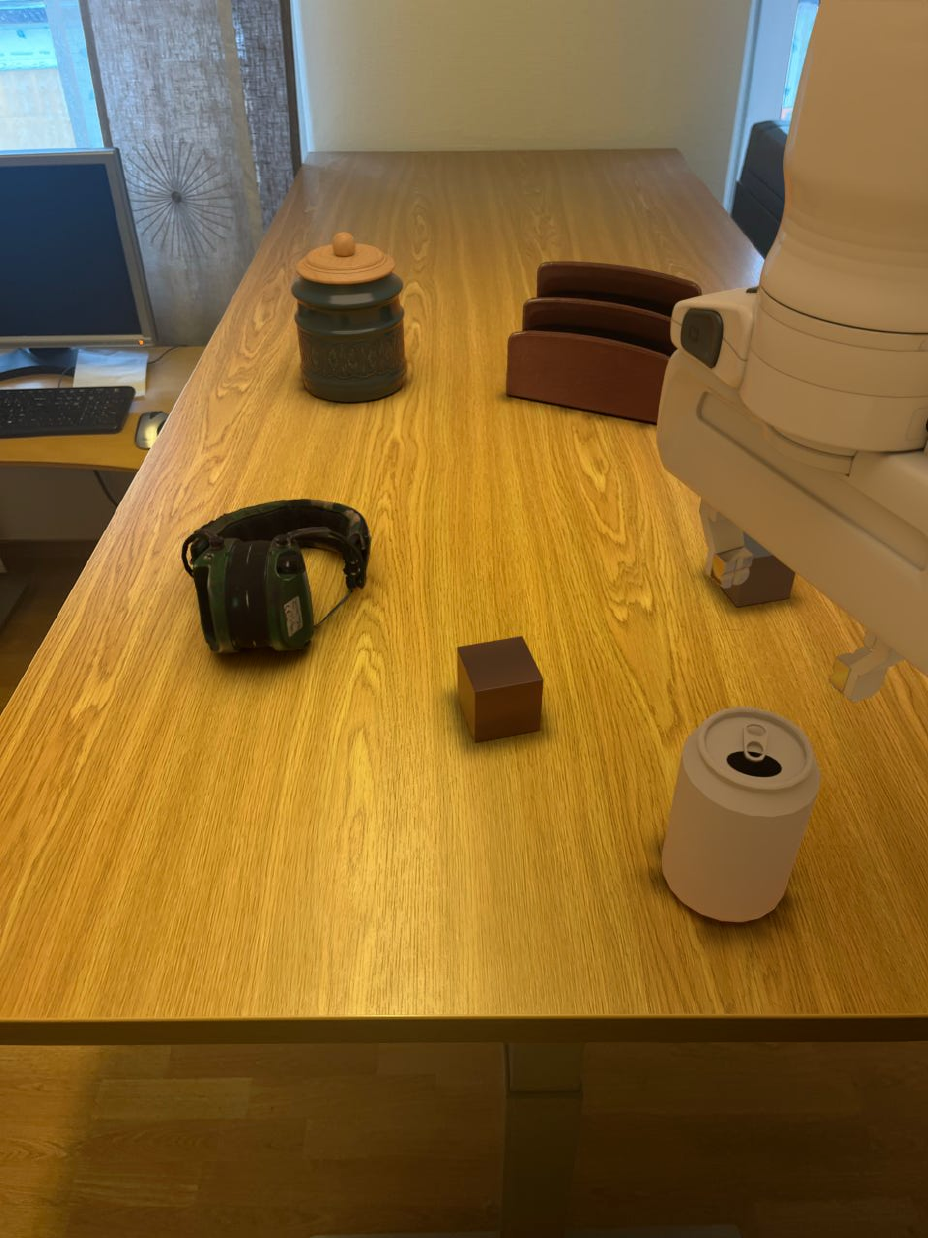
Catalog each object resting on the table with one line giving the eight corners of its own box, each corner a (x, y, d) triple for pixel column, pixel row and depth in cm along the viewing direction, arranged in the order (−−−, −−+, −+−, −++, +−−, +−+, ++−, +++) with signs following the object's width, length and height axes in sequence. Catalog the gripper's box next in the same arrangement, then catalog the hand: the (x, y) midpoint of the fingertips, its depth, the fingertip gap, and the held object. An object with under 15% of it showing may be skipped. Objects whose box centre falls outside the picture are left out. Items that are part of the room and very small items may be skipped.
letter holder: (535, 365, 120) (540, 251, 111) (689, 393, 113) (707, 274, 105) (504, 396, 113) (507, 277, 104) (666, 427, 106) (684, 303, 97)
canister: (330, 354, 123) (316, 212, 112) (423, 367, 119) (418, 222, 108) (283, 395, 113) (263, 244, 102) (382, 411, 110) (372, 256, 99)
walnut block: (540, 730, 69) (544, 679, 66) (474, 743, 68) (474, 691, 65) (520, 685, 73) (522, 635, 70) (457, 697, 72) (456, 646, 69)
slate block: (789, 598, 81) (802, 550, 78) (736, 607, 80) (747, 559, 77) (760, 566, 85) (771, 518, 82) (710, 574, 84) (719, 527, 81)
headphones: (389, 615, 70) (389, 511, 88) (244, 503, 65) (275, 415, 82) (276, 726, 74) (298, 605, 92) (132, 629, 69) (183, 520, 87)
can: (654, 916, 56) (682, 780, 49) (663, 821, 62) (690, 686, 55) (784, 942, 55) (832, 806, 48) (781, 842, 61) (824, 706, 53)
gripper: (1153, 463, 31) (1004, 752, 40) (760, 275, 46) (713, 516, 55) (1018, 504, 29) (891, 799, 38) (651, 294, 44) (619, 541, 52)
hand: (784, 630), depth 46 cm, fingers open, 8 cm apart
